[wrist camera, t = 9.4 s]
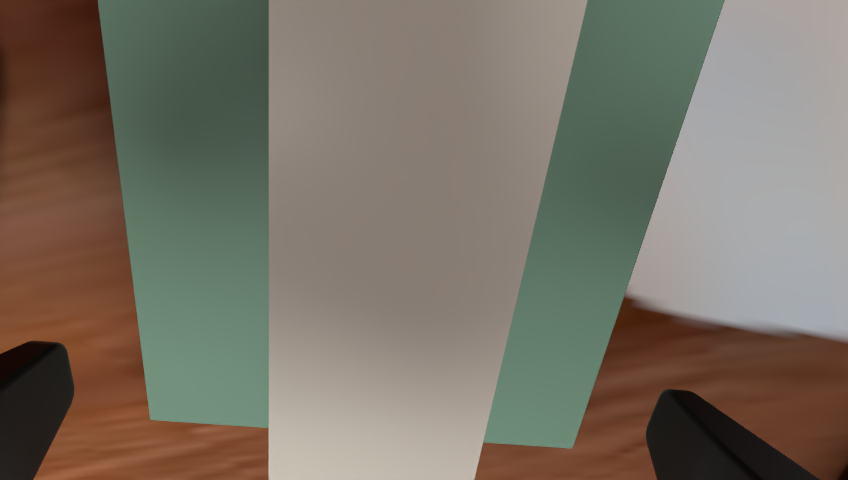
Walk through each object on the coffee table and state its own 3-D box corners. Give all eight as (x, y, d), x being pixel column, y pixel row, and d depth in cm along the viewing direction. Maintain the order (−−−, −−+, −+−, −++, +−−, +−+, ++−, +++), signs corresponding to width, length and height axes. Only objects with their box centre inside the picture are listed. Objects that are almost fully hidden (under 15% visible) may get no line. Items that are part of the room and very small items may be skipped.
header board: (730, -88, 12) (929, -128, 8) (564, 426, 19) (615, 569, 15) (98, -190, 11) (-120, -310, 7) (162, 397, 18) (79, 543, 13)
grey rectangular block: (527, -59, 11) (606, -82, 6) (436, 434, 16) (448, 589, 12) (323, -89, 10) (268, -135, 6) (303, 425, 16) (268, 582, 12)
